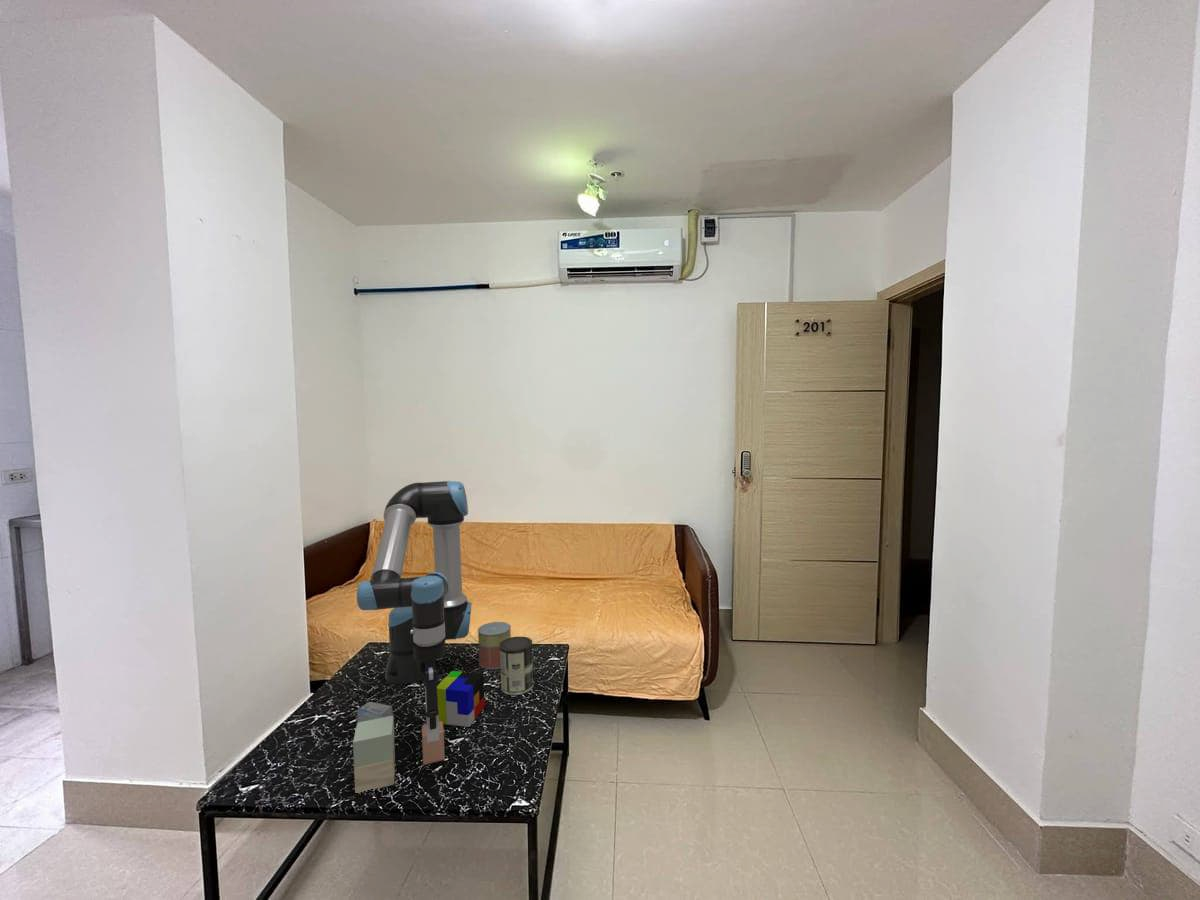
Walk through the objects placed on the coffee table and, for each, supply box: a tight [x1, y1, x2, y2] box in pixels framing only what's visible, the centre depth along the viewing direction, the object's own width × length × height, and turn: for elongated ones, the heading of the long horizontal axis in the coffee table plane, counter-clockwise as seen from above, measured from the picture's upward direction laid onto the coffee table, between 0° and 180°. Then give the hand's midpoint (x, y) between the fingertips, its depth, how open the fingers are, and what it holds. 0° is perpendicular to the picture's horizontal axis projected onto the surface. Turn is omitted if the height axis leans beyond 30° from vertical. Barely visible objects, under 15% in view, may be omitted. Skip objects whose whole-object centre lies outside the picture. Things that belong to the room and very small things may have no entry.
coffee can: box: [499, 636, 535, 696], centre depth 156 cm, size 10×10×14 cm
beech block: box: [353, 748, 396, 794], centre depth 116 cm, size 8×8×6 cm
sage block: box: [352, 714, 395, 769], centre depth 116 cm, size 8×8×6 cm
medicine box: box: [356, 701, 394, 723], centre depth 130 cm, size 8×4×9 cm, turn 71°
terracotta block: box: [421, 721, 446, 766], centre depth 123 cm, size 5×5×7 cm
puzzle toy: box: [437, 670, 486, 728], centre depth 141 cm, size 10×10×10 cm
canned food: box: [477, 621, 512, 670], centre depth 173 cm, size 11×11×12 cm
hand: (432, 725), depth 123 cm, fingers open, 13 cm apart
